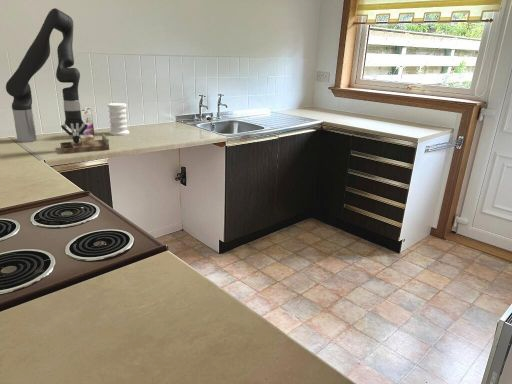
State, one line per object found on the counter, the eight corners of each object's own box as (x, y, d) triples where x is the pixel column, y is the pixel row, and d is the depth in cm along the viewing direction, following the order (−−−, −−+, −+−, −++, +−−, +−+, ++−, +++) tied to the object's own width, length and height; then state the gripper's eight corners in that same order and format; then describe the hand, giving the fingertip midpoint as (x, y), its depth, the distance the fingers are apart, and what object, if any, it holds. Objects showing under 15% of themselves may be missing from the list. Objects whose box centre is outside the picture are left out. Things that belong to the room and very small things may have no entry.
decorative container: (121, 130, 249) (119, 102, 243) (133, 133, 243) (131, 104, 237) (105, 133, 240) (102, 103, 234) (117, 136, 234) (114, 106, 228)
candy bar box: (87, 134, 236) (84, 107, 231) (94, 135, 235) (91, 107, 230) (75, 138, 226) (72, 109, 220) (83, 138, 225) (80, 110, 219)
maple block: (82, 145, 201) (81, 137, 200) (80, 142, 206) (79, 135, 204) (94, 144, 204) (93, 136, 202) (92, 142, 209) (92, 134, 207)
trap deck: (63, 153, 194) (61, 142, 192) (60, 147, 205) (59, 137, 203) (109, 149, 205) (108, 139, 203) (104, 143, 216) (103, 134, 214)
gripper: (58, 110, 190) (63, 145, 196) (87, 109, 196) (91, 143, 202) (57, 108, 196) (61, 142, 202) (85, 107, 202) (89, 140, 208)
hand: (76, 142), depth 202 cm, fingers closed
